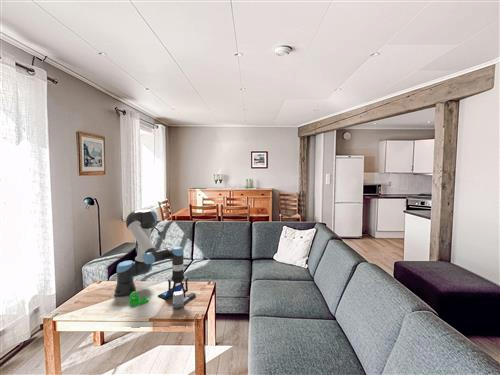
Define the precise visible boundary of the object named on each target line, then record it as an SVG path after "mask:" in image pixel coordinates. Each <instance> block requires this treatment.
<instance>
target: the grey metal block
mask: <svg viewBox="0 0 500 375" xmlns="http://www.w3.org/2000/svg"><path fill="white" fill-rule="evenodd" d="M182 292H183V290H181V291H178V292H174V305H180V304H183V293H182Z"/></svg>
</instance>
